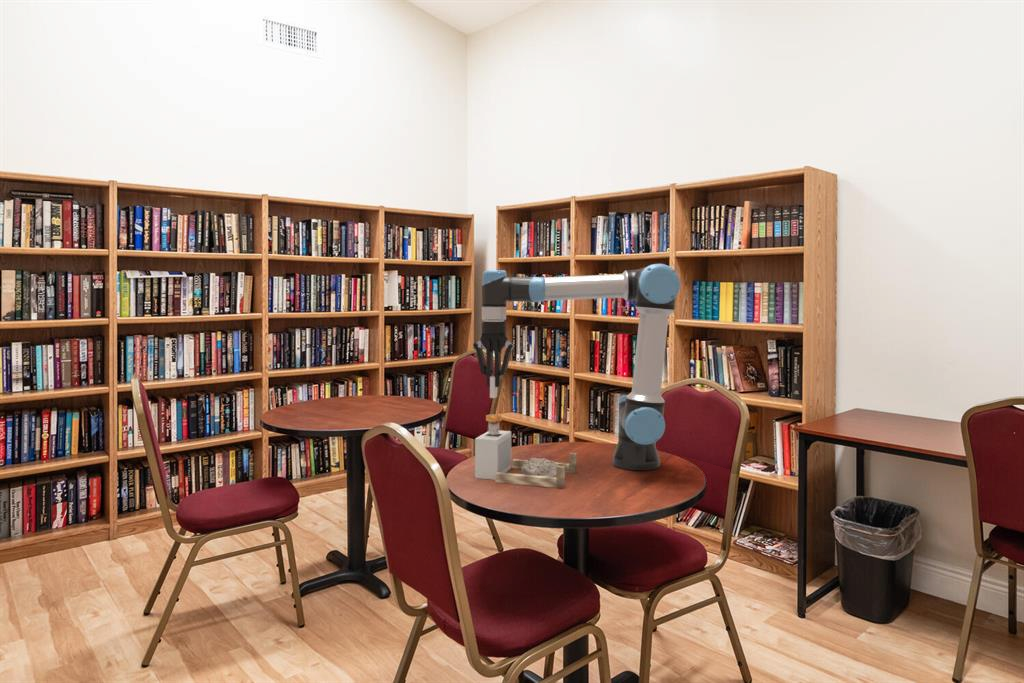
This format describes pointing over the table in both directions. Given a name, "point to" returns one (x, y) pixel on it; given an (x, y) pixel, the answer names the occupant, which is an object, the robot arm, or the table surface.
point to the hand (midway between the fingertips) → (493, 397)
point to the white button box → (492, 454)
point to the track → (539, 480)
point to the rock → (539, 467)
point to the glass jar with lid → (493, 424)
